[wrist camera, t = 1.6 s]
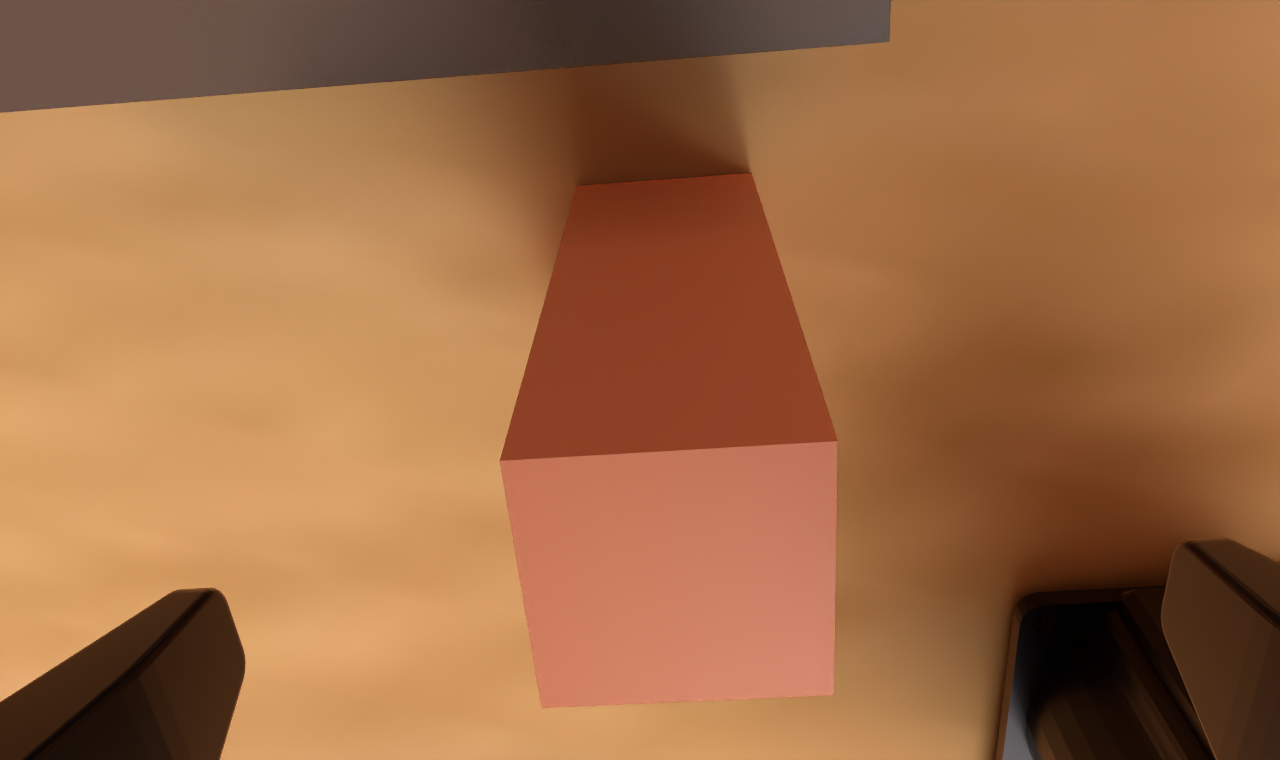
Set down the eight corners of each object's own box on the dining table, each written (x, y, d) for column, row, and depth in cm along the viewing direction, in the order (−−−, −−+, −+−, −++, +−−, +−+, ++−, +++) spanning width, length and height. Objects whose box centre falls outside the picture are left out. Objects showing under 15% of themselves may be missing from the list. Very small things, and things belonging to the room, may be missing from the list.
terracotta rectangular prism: (755, 332, 18) (833, 694, 10) (594, 342, 18) (541, 707, 10) (751, 172, 16) (837, 440, 8) (576, 185, 17) (500, 460, 9)
